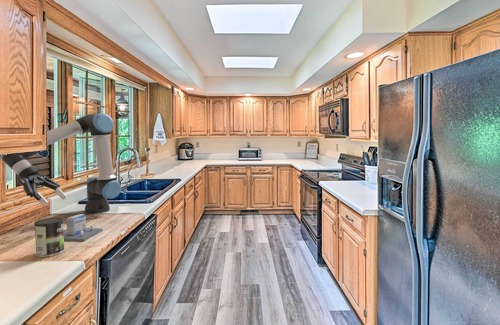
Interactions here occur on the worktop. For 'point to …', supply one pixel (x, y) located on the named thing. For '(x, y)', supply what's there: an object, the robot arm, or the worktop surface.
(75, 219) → the medicine box
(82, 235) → the pin tray
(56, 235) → the coffee can
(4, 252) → the worktop surface
